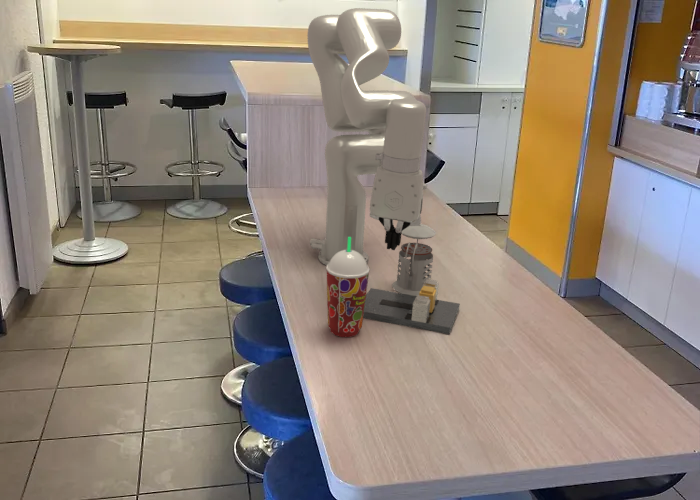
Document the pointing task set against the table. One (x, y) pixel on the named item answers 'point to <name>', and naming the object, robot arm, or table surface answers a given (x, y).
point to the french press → (414, 260)
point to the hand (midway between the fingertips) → (392, 247)
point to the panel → (411, 309)
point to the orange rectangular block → (429, 295)
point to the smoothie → (346, 291)
